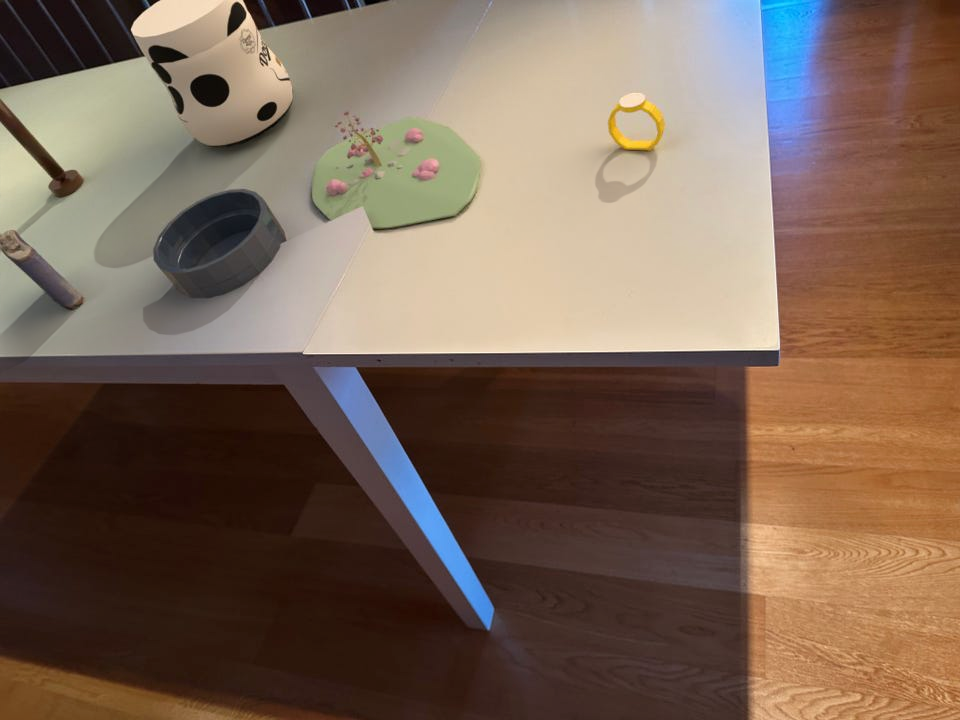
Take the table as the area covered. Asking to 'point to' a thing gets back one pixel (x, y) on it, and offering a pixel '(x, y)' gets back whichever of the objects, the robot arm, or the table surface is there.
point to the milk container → (215, 68)
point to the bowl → (218, 243)
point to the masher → (41, 155)
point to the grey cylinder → (39, 270)
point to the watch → (634, 104)
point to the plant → (397, 173)
